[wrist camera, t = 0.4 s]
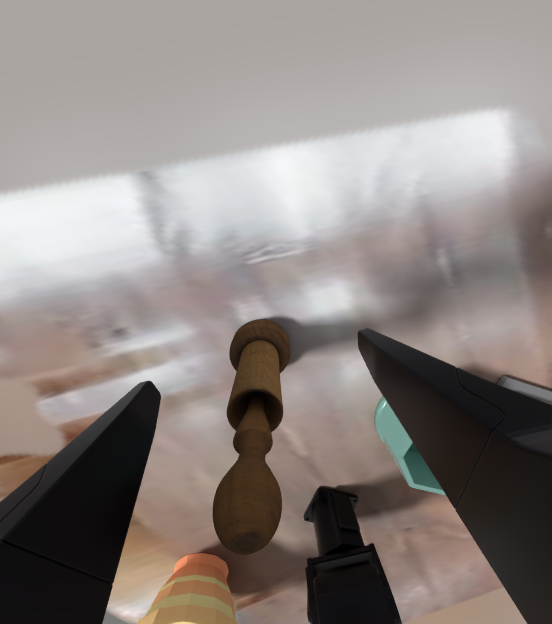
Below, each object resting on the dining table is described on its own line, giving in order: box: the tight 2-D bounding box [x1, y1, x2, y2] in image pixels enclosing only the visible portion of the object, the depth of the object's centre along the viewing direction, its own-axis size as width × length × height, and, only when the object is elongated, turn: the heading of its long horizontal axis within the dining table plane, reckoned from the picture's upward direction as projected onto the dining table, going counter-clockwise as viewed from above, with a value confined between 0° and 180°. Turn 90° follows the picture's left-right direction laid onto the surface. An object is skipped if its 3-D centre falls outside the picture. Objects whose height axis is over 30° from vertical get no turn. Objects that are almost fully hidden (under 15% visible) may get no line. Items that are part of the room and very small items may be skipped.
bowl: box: [374, 396, 446, 495], centre depth 27 cm, size 12×12×6 cm
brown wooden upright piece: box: [213, 320, 290, 555], centre depth 17 cm, size 7×6×18 cm
